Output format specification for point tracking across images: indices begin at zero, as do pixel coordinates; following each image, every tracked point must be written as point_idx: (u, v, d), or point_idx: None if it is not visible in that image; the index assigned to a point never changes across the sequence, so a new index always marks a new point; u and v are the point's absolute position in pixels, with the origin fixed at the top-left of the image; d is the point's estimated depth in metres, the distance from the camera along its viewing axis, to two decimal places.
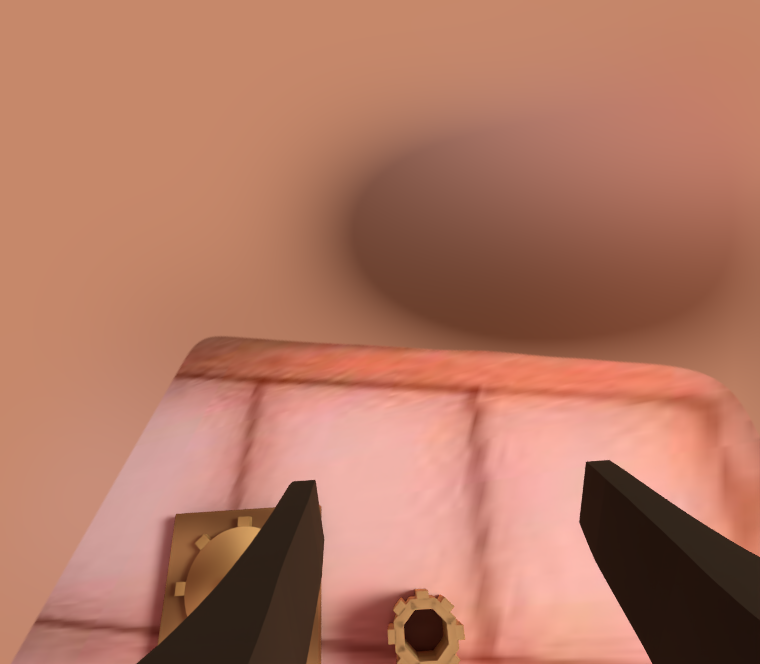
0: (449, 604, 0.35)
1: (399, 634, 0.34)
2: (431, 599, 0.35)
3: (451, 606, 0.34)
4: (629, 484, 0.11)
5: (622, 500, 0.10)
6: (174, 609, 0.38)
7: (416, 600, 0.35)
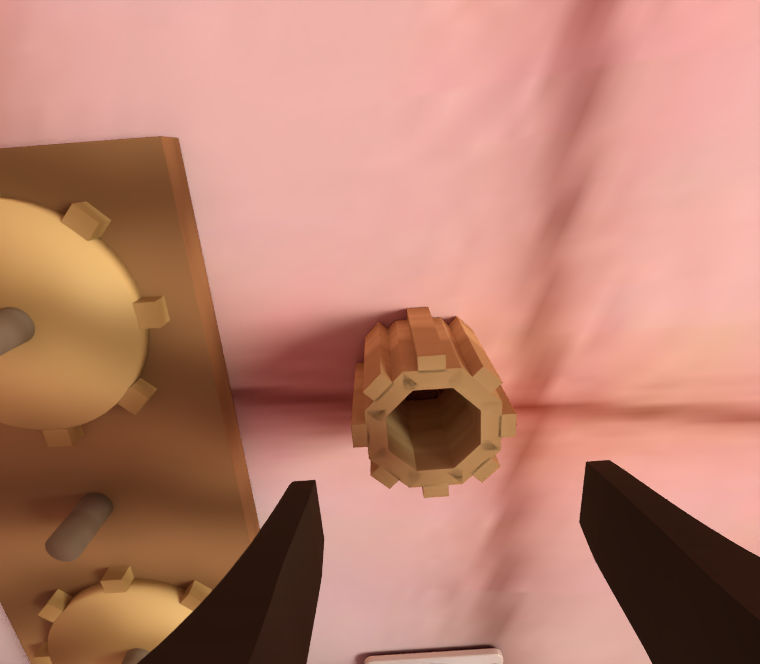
0: (492, 379, 0.15)
1: (376, 431, 0.16)
2: (451, 371, 0.15)
3: (496, 382, 0.15)
4: (629, 484, 0.11)
5: (622, 500, 0.10)
6: None
7: (416, 373, 0.15)
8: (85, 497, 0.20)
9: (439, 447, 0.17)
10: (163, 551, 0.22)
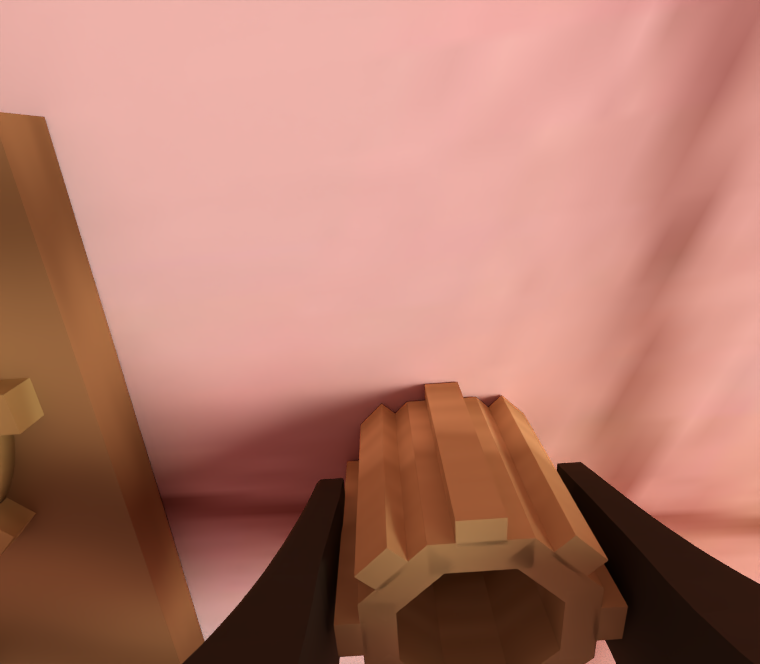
0: (589, 555, 0.08)
1: (378, 633, 0.09)
2: (517, 543, 0.08)
3: (596, 560, 0.08)
4: (597, 486, 0.11)
5: (589, 502, 0.10)
6: None
7: (453, 547, 0.08)
8: None
9: (481, 625, 0.11)
10: None
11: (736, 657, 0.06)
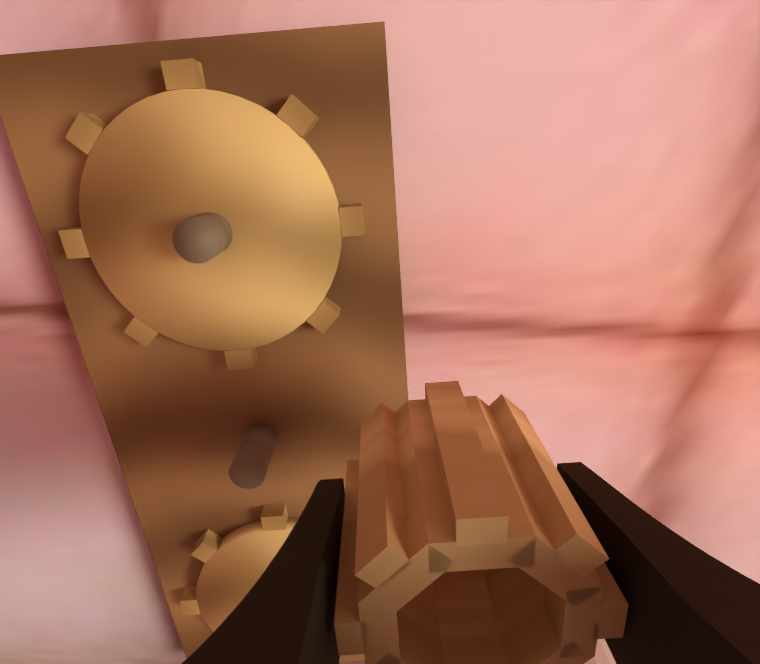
0: (590, 553, 0.08)
1: (378, 632, 0.09)
2: (518, 541, 0.08)
3: (597, 559, 0.08)
4: (597, 486, 0.11)
5: (589, 502, 0.10)
6: (83, 280, 0.17)
7: (454, 546, 0.08)
8: (252, 427, 0.20)
9: (481, 623, 0.11)
10: None
11: (736, 657, 0.06)
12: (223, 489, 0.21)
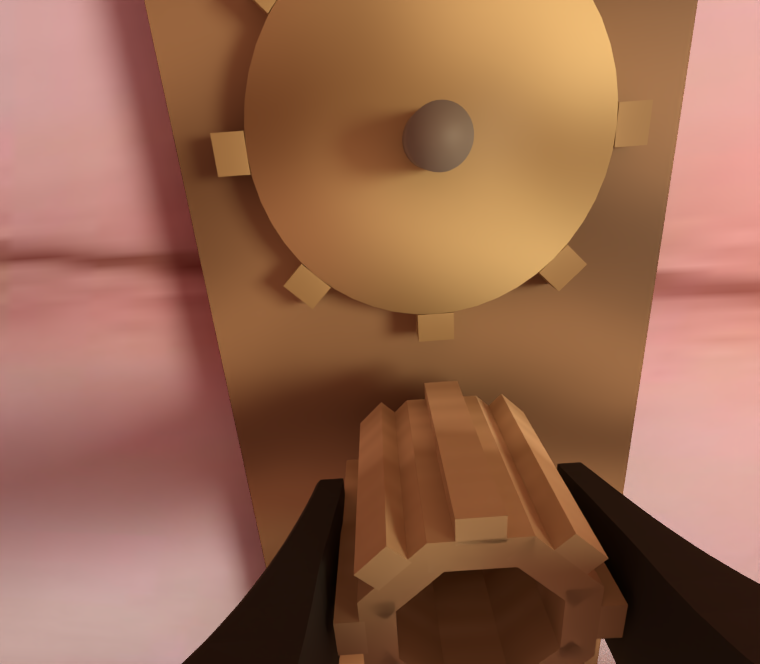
0: (590, 553, 0.08)
1: (378, 631, 0.09)
2: (517, 541, 0.08)
3: (596, 558, 0.08)
4: (597, 486, 0.11)
5: (589, 502, 0.10)
6: (227, 214, 0.13)
7: (453, 546, 0.08)
8: None
9: (481, 623, 0.11)
10: None
11: (736, 657, 0.06)
12: None
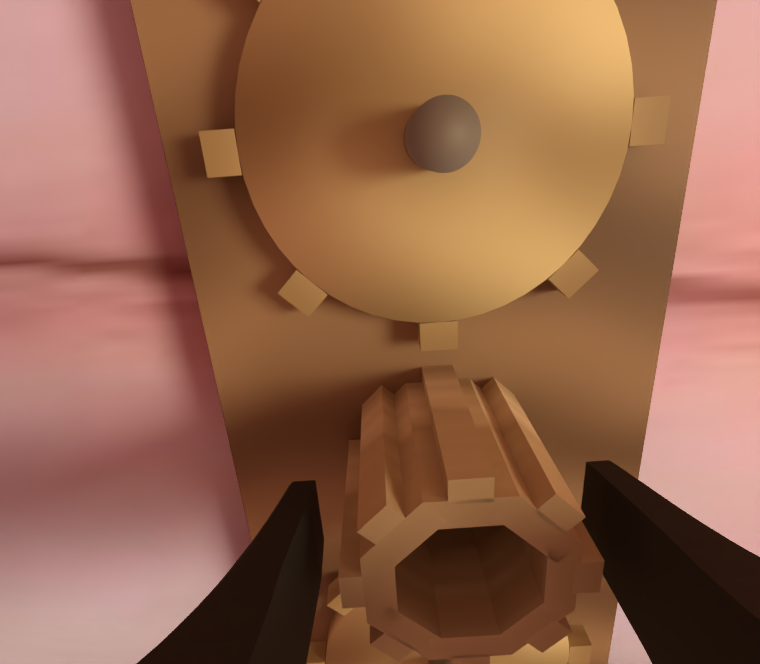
0: (569, 512, 0.09)
1: (379, 585, 0.10)
2: (503, 500, 0.09)
3: (575, 517, 0.09)
4: (629, 484, 0.11)
5: (622, 500, 0.10)
6: (218, 217, 0.12)
7: (446, 505, 0.09)
8: None
9: (473, 585, 0.12)
10: None
11: None
12: None
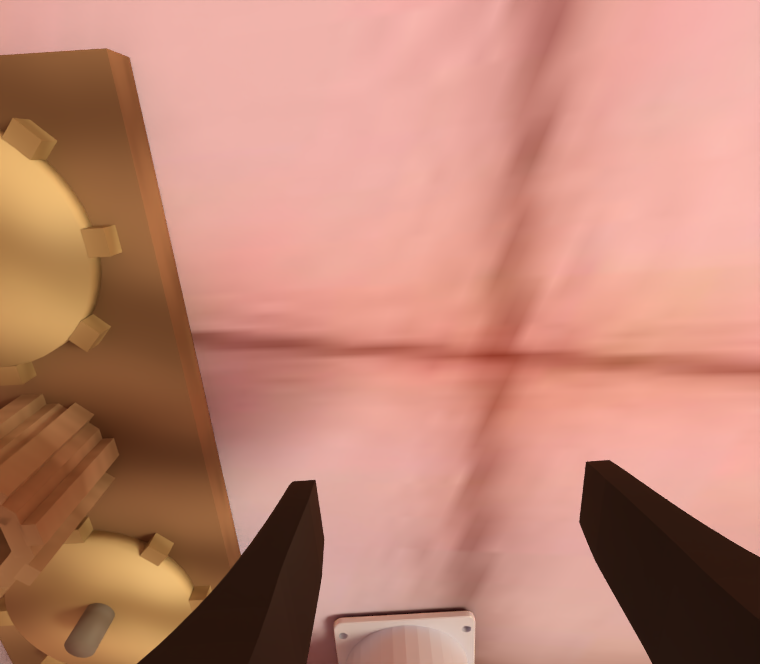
0: None
1: None
2: None
3: (1, 496, 0.15)
4: (629, 484, 0.11)
5: (622, 500, 0.10)
6: None
7: None
8: None
9: None
10: (123, 502, 0.21)
11: None
12: None
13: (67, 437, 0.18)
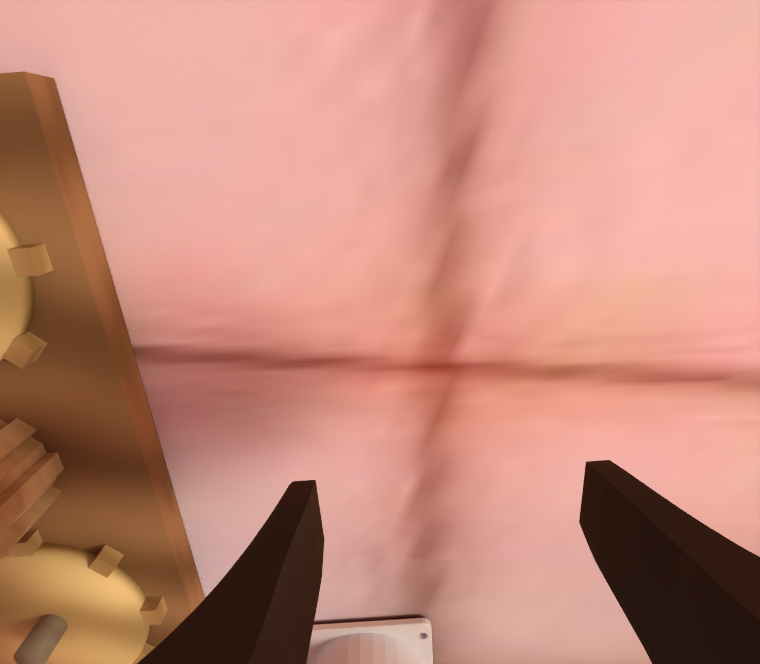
0: None
1: None
2: None
3: None
4: (629, 484, 0.11)
5: (622, 500, 0.10)
6: None
7: None
8: None
9: None
10: (70, 515, 0.22)
11: None
12: None
13: (4, 453, 0.18)
